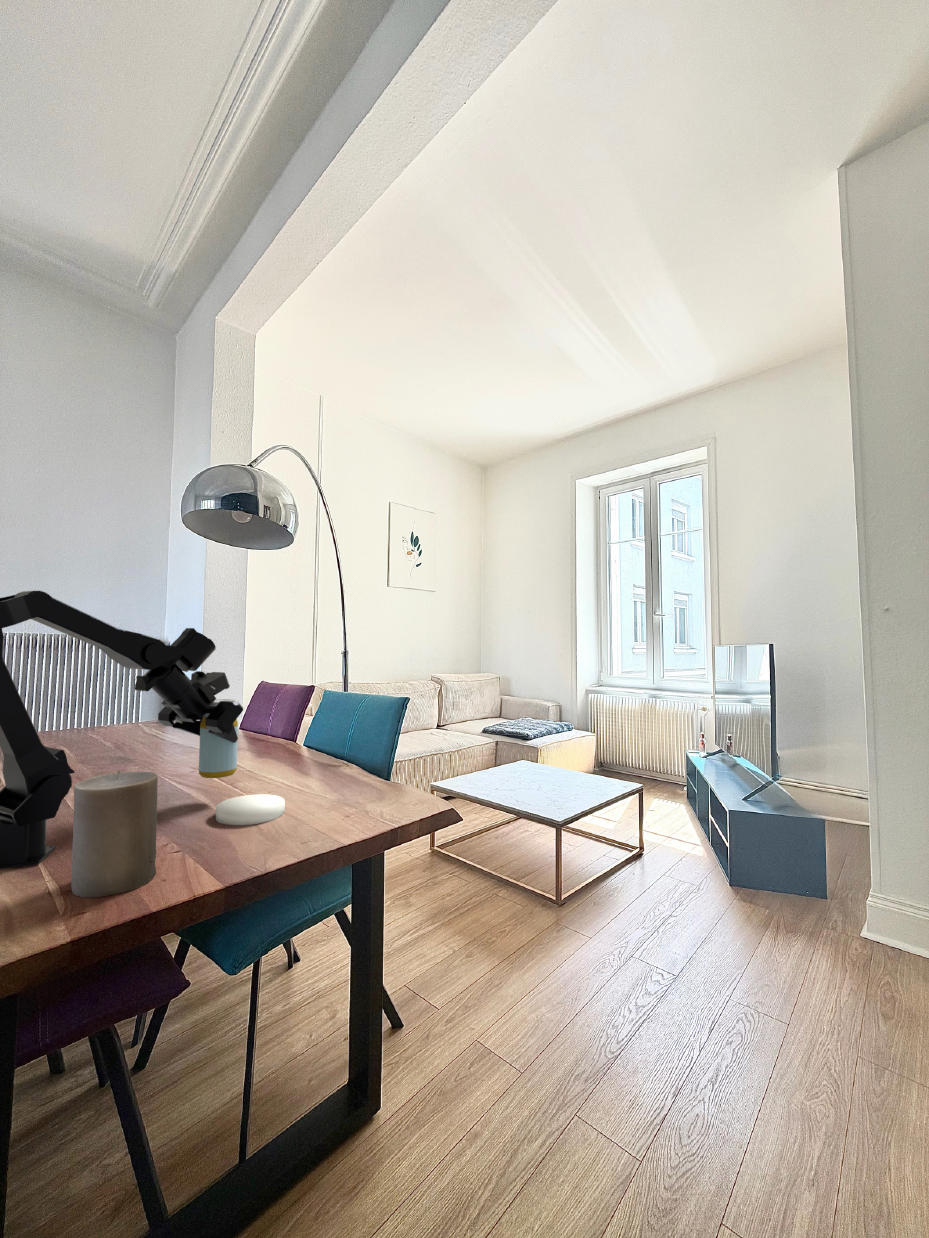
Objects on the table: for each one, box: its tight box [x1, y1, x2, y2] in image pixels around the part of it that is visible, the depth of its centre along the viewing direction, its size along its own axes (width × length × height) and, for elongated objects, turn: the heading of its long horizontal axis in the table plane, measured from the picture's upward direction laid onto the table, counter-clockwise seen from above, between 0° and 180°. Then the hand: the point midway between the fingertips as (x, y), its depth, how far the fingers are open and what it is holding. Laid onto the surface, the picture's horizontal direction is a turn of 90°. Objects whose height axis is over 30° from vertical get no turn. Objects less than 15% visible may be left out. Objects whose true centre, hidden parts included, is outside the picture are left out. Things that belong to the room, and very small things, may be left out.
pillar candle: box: [70, 769, 159, 899], centre depth 72 cm, size 10×10×15 cm
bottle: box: [198, 698, 239, 779], centre depth 108 cm, size 7×7×15 cm
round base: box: [215, 793, 286, 826], centre depth 99 cm, size 12×12×2 cm
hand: (224, 739), depth 109 cm, fingers closed on bottle, 7 cm apart
